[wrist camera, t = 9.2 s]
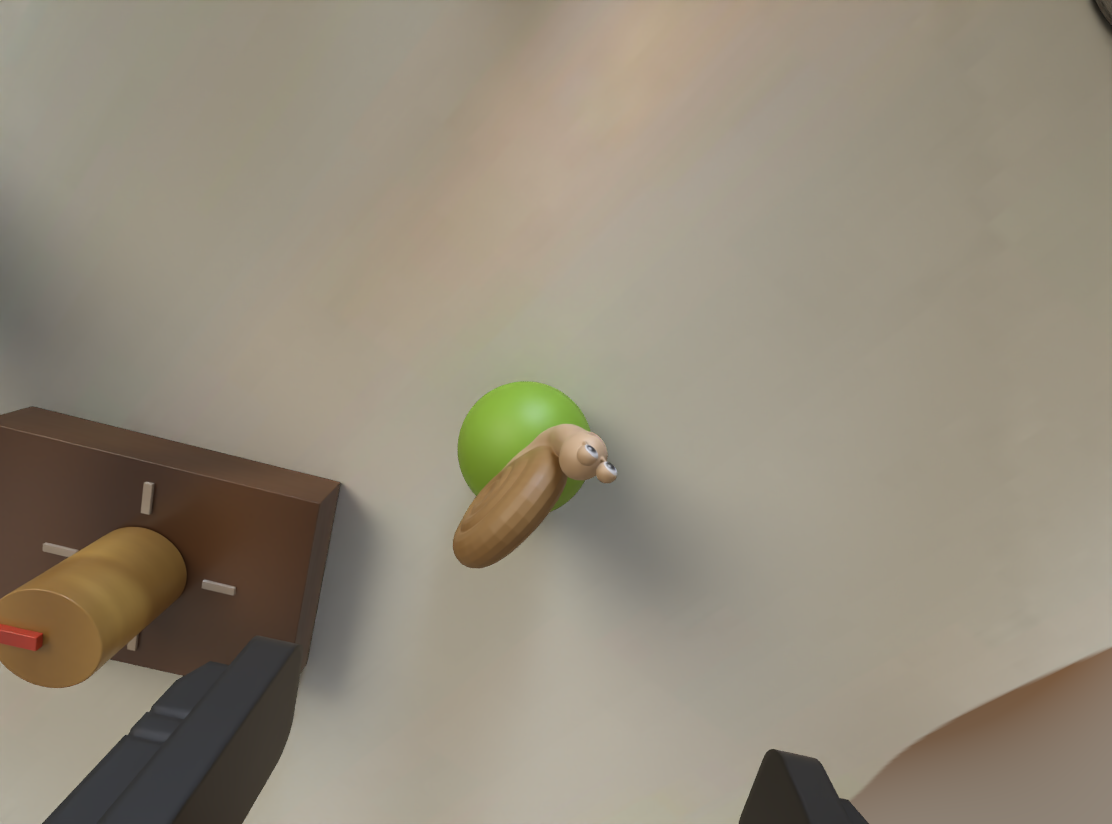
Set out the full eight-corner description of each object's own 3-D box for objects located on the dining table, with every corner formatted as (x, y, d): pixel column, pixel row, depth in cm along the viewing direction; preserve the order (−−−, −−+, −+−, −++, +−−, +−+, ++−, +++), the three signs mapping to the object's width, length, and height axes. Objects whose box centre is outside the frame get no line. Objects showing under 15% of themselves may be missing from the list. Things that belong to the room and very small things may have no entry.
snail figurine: (630, 411, 27) (683, 529, 15) (533, 509, 28) (512, 689, 16) (540, 328, 26) (522, 384, 14) (443, 432, 27) (355, 564, 15)
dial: (192, 538, 26) (99, 608, 20) (182, 619, 27) (91, 705, 21) (97, 516, 25) (-21, 581, 20) (91, 597, 26) (-24, 680, 21)
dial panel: (340, 482, 28) (318, 504, 25) (307, 663, 30) (283, 701, 27) (32, 405, 27) (-25, 421, 24) (22, 598, 29) (-30, 631, 27)
